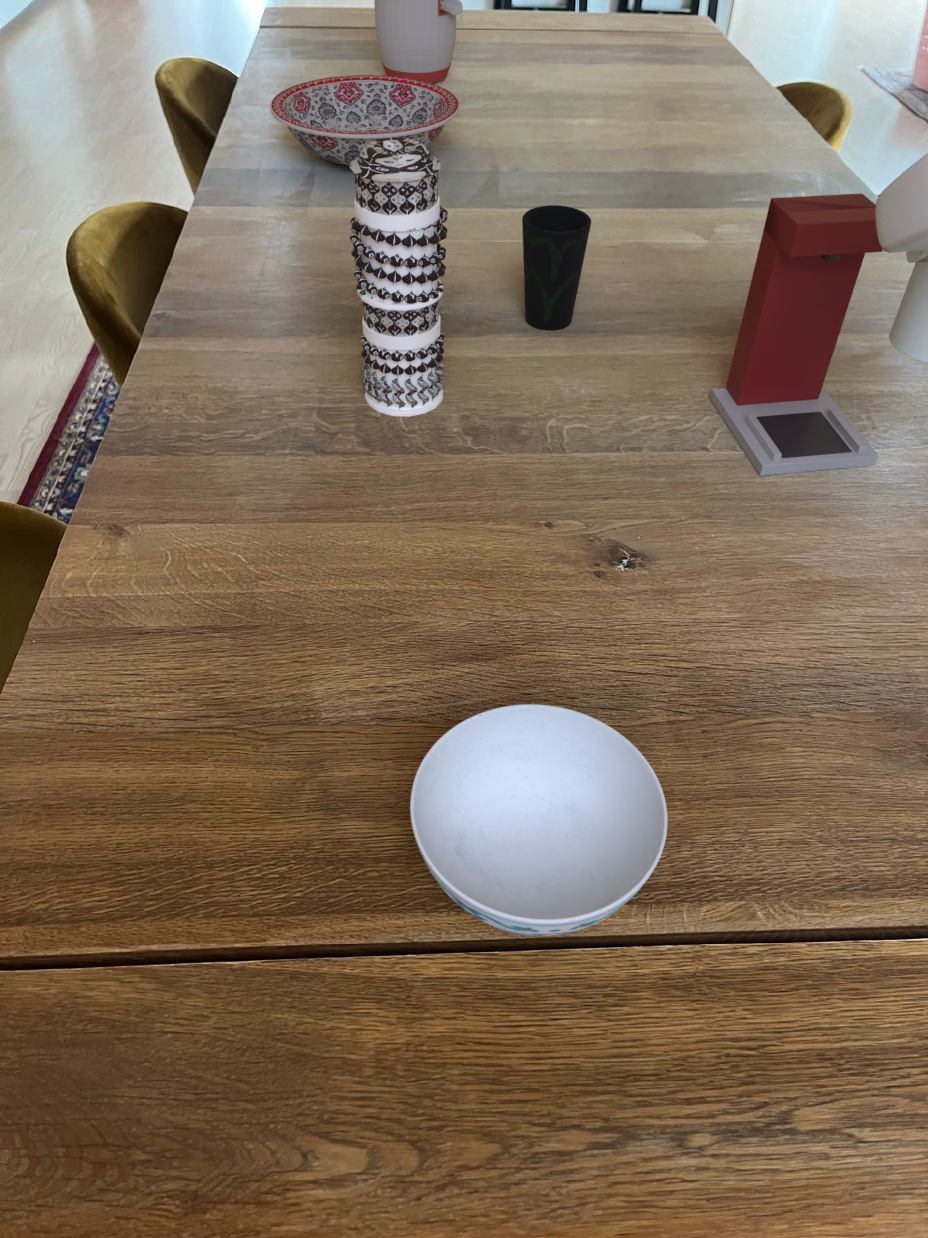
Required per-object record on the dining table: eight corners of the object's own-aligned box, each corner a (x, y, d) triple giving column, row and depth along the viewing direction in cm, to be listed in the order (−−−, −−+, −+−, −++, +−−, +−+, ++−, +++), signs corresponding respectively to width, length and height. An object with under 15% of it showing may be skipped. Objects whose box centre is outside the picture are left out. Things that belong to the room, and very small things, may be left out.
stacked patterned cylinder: (454, 415, 98) (456, 162, 80) (365, 422, 97) (347, 167, 79) (441, 370, 104) (440, 127, 87) (357, 376, 103) (339, 131, 85)
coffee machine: (874, 465, 93) (956, 256, 78) (759, 476, 91) (821, 264, 76) (814, 390, 102) (877, 192, 88) (709, 398, 101) (755, 198, 86)
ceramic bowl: (495, 167, 148) (497, 112, 142) (331, 206, 136) (327, 148, 131) (398, 116, 165) (396, 64, 159) (245, 146, 153) (238, 92, 147)
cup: (548, 341, 109) (556, 238, 101) (503, 317, 113) (508, 216, 105) (593, 320, 113) (605, 220, 104) (548, 298, 117) (556, 199, 108)
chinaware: (452, 752, 67) (453, 681, 62) (663, 806, 64) (683, 735, 59) (379, 944, 57) (372, 878, 51) (625, 1017, 54) (645, 956, 48)
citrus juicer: (434, 96, 173) (434, -34, 159) (359, 79, 180) (352, -47, 166) (480, 76, 183) (483, -49, 169) (407, 60, 189) (404, -61, 175)
